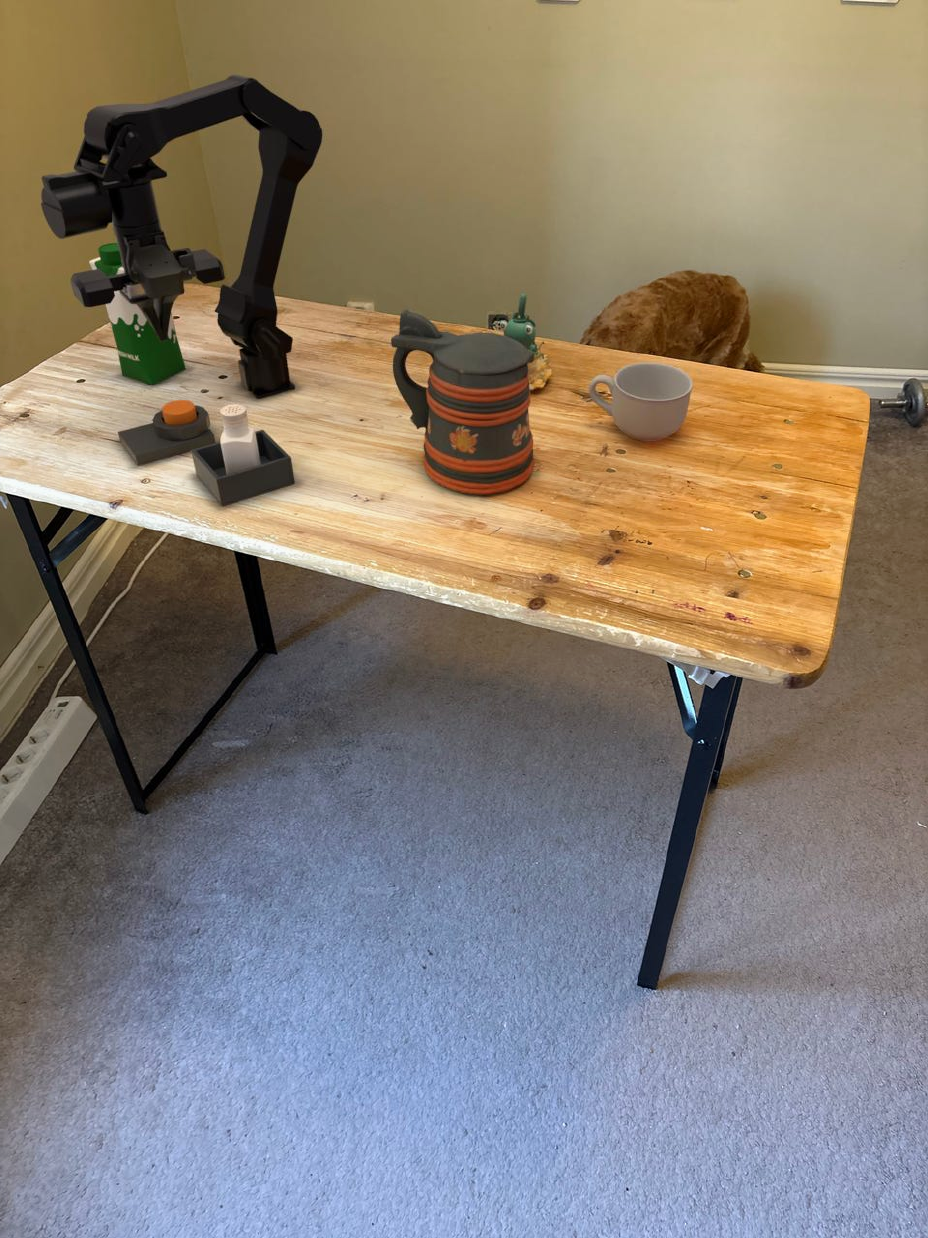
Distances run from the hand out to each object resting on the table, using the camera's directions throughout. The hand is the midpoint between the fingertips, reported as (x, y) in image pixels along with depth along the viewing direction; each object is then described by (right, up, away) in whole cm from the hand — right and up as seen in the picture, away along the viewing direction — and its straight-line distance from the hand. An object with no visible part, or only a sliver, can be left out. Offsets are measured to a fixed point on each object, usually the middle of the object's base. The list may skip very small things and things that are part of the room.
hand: (163, 340), depth 125 cm
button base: (0, -14, +2) cm, 14 cm away
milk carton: (-8, +1, +20) cm, 22 cm away
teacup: (+66, -11, +4) cm, 67 cm away
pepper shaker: (+13, -20, -6) cm, 24 cm away
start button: (+2, -11, +1) cm, 11 cm away
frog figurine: (+50, -1, +17) cm, 53 cm away
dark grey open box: (+13, -20, -6) cm, 25 cm away
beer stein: (+41, -18, -3) cm, 45 cm away
